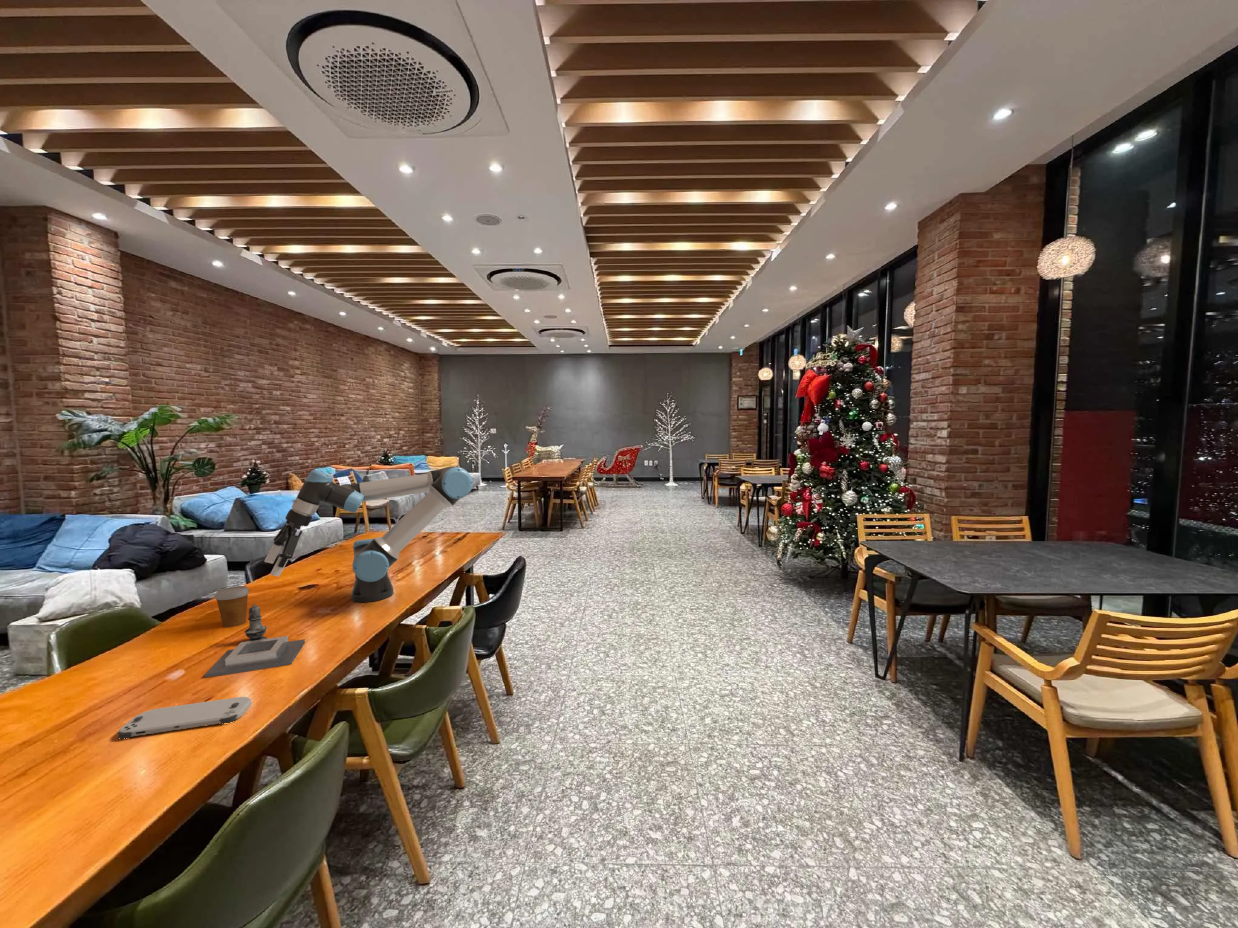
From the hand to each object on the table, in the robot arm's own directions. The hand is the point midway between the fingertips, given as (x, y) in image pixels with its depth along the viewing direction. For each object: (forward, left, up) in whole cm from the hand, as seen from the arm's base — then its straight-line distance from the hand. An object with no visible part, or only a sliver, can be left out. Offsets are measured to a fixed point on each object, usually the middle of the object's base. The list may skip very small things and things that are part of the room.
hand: (271, 568), depth 174 cm
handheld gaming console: (+1, +63, -19) cm, 66 cm away
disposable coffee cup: (+13, -4, -19) cm, 23 cm away
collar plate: (-4, +32, -19) cm, 38 cm away
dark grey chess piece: (+1, +16, -19) cm, 25 cm away
